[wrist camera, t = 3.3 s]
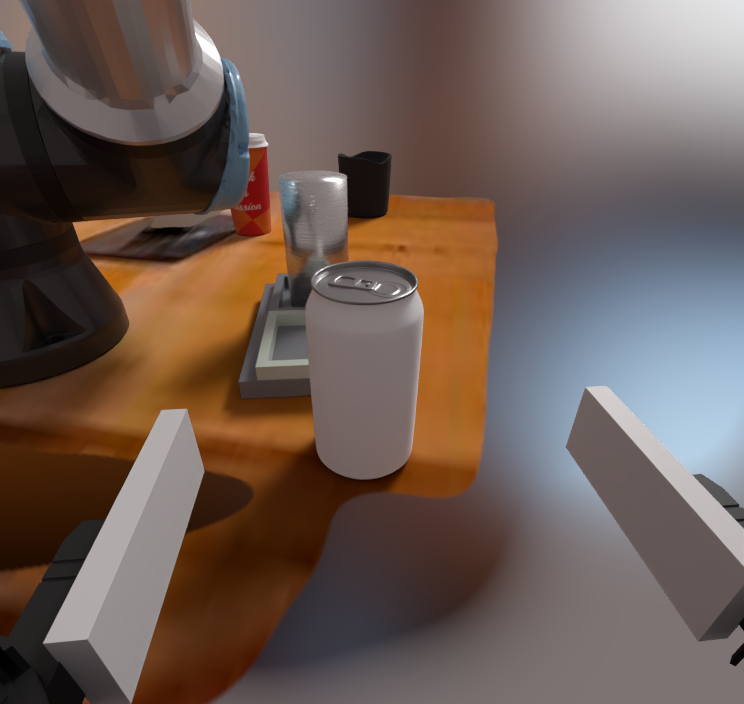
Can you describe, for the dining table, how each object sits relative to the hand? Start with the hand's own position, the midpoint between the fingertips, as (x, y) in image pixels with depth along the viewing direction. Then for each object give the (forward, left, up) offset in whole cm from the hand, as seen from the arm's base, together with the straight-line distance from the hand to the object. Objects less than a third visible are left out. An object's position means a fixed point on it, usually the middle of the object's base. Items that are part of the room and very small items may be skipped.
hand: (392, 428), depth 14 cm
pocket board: (-3, +25, -11) cm, 28 cm away
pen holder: (+5, +71, -11) cm, 72 cm away
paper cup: (-14, +60, -11) cm, 63 cm away
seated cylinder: (-3, +30, -9) cm, 31 cm away
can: (0, +10, -11) cm, 15 cm away
